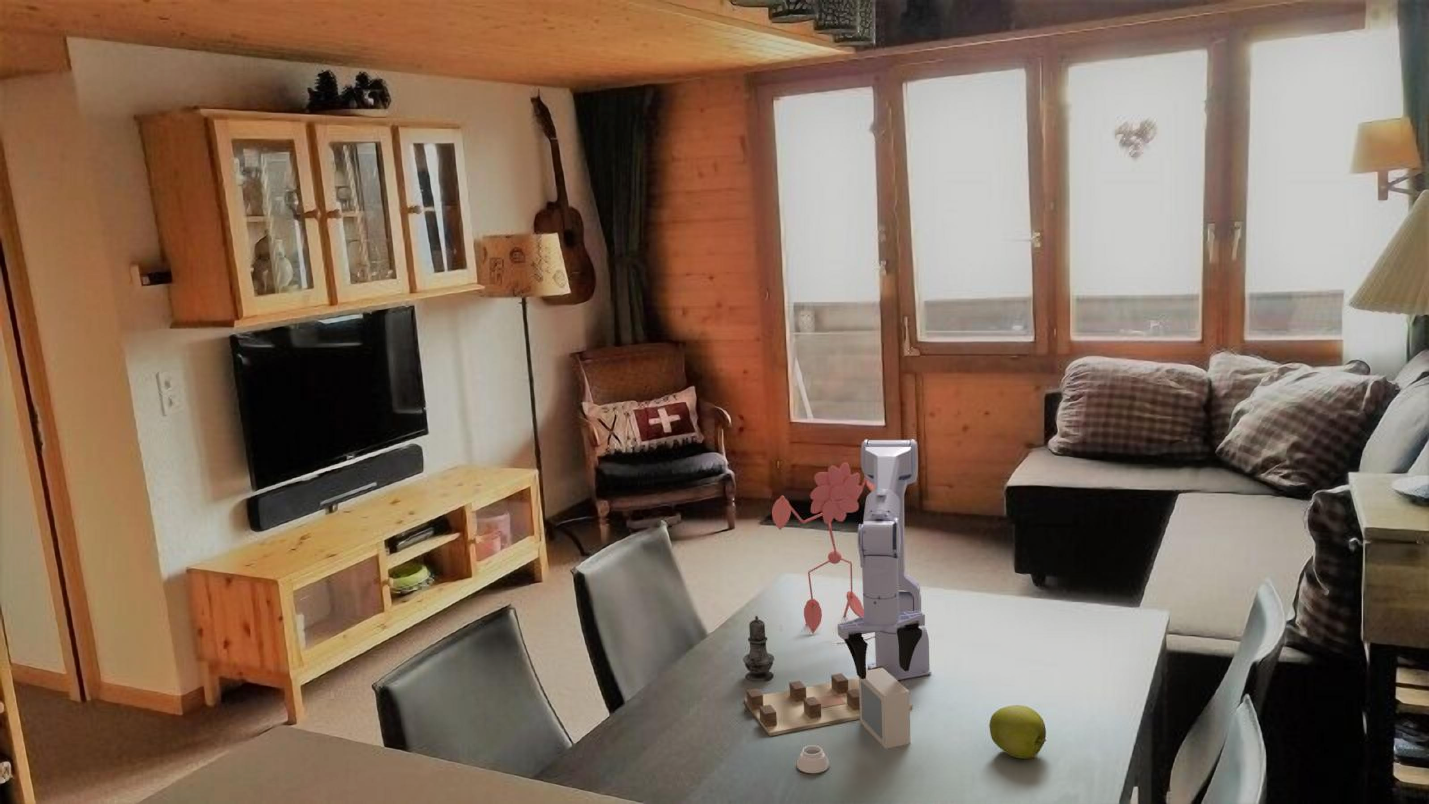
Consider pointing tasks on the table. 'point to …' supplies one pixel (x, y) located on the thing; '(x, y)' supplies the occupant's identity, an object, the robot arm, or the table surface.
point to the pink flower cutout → (834, 503)
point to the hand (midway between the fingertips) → (883, 672)
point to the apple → (1018, 731)
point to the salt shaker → (758, 654)
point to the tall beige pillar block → (885, 708)
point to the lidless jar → (812, 760)
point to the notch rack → (807, 705)
